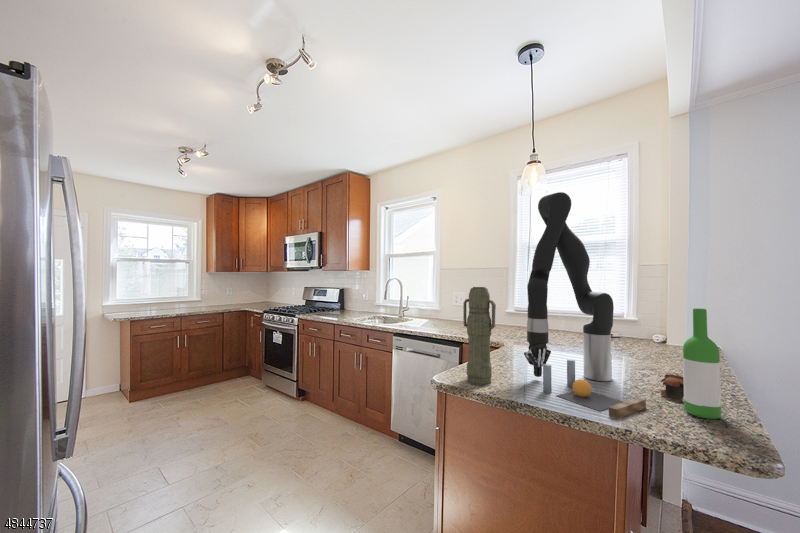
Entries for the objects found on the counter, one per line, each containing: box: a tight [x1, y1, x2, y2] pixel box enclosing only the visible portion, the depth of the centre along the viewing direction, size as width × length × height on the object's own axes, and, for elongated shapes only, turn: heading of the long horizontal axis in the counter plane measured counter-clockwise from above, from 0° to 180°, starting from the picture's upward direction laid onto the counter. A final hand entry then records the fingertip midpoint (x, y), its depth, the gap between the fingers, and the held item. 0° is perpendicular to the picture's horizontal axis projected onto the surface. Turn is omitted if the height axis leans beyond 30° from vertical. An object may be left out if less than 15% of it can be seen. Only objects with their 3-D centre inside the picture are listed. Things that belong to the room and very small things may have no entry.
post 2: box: [566, 359, 576, 388], centre depth 117 cm, size 3×3×9 cm
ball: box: [571, 378, 593, 397], centre depth 106 cm, size 6×6×6 cm
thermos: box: [463, 286, 497, 387], centre depth 121 cm, size 9×12×35 cm
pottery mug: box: [660, 373, 684, 403], centre depth 105 cm, size 12×10×8 cm
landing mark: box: [556, 390, 624, 412], centre depth 104 cm, size 14×14×1 cm
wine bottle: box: [682, 308, 722, 420], centre depth 93 cm, size 8×8×30 cm
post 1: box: [542, 363, 552, 394], centre depth 111 cm, size 3×3×9 cm
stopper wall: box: [608, 397, 647, 420], centre depth 94 cm, size 16×2×2 cm, turn 119°
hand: (537, 376), depth 123 cm, fingers closed
